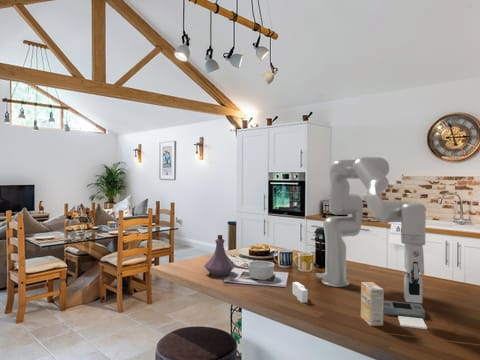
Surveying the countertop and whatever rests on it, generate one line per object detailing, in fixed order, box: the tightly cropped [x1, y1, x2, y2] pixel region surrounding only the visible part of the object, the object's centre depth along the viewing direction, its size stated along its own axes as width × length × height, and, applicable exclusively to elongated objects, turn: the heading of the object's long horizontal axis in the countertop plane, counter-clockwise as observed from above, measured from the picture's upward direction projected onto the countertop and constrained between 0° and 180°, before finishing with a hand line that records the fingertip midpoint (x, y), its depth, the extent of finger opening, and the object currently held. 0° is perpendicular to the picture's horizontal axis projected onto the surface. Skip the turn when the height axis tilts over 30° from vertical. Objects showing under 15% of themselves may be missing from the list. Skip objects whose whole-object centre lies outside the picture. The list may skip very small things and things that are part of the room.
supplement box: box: [360, 281, 385, 327], centre depth 126 cm, size 8×5×13 cm, turn 5°
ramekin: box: [247, 260, 275, 279], centre depth 181 cm, size 13×13×7 cm
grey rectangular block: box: [403, 274, 423, 304], centre depth 124 cm, size 5×5×8 cm
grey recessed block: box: [383, 300, 426, 320], centre depth 134 cm, size 14×8×3 cm, turn 73°
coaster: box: [397, 316, 428, 330], centre depth 125 cm, size 8×8×1 cm
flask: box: [203, 234, 236, 277], centre depth 187 cm, size 16×16×20 cm
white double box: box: [291, 281, 309, 304], centre depth 151 cm, size 15×11×6 cm
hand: (412, 291), depth 124 cm, fingers closed on grey rectangular block, 5 cm apart
